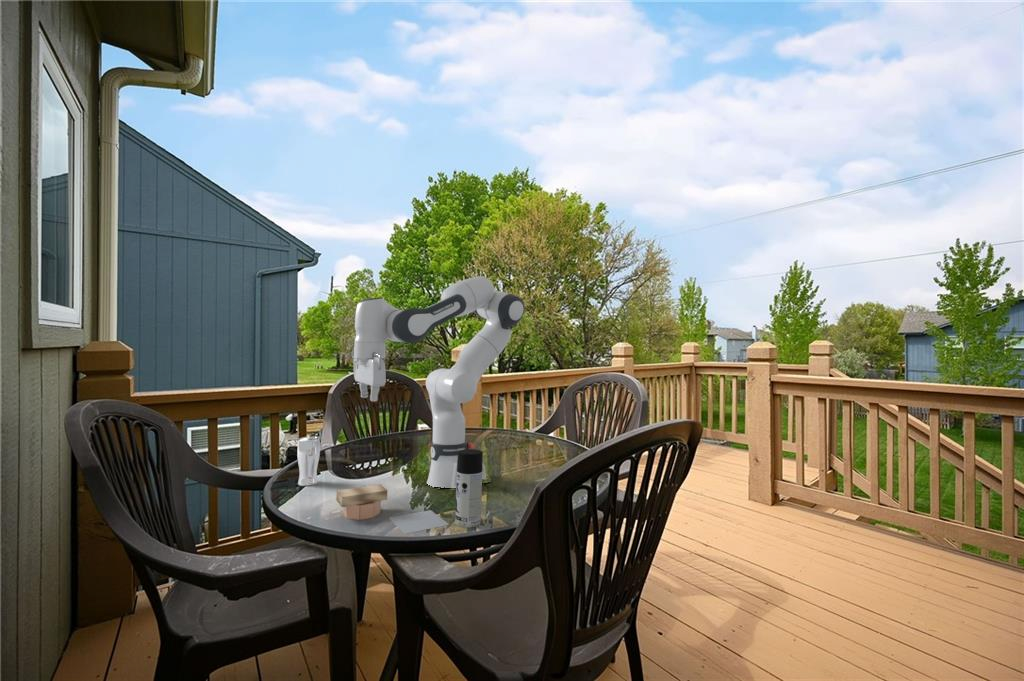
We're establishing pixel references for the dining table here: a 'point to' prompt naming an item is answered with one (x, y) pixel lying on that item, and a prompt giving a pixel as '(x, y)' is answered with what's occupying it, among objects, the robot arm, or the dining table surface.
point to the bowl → (362, 510)
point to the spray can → (469, 488)
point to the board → (361, 495)
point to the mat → (418, 521)
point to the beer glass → (308, 460)
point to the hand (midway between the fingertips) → (368, 399)
